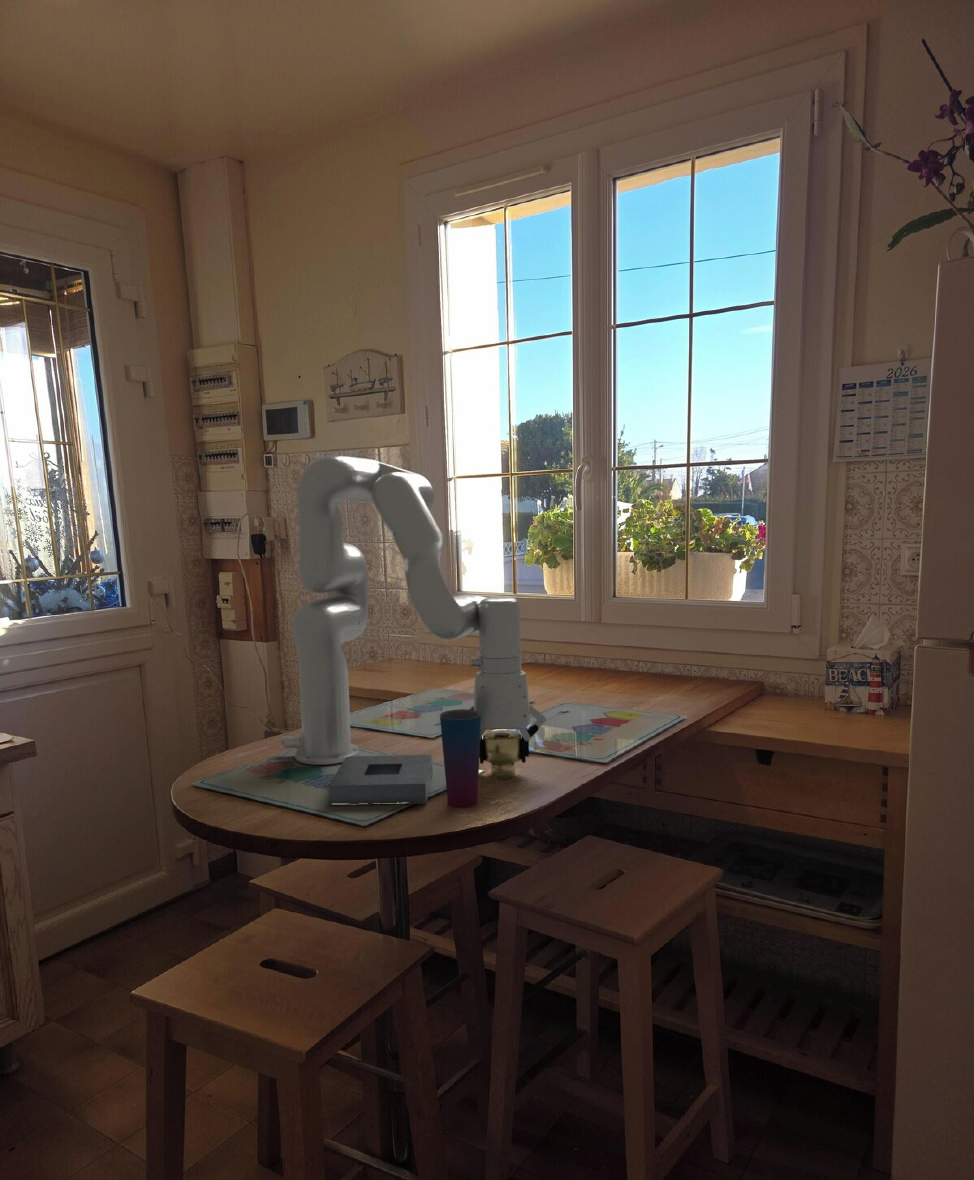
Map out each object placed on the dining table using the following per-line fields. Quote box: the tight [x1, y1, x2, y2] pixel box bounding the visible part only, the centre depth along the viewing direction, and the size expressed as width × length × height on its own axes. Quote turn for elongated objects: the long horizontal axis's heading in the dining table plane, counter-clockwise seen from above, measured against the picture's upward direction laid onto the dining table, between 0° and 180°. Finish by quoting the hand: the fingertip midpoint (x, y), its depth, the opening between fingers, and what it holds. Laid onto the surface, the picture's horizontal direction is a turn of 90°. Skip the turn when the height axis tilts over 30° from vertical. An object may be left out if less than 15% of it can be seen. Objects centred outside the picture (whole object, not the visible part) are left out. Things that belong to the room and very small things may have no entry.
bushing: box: [482, 729, 522, 780], centre depth 148 cm, size 7×7×8 cm
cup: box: [439, 708, 481, 809], centre depth 134 cm, size 7×7×15 cm
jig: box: [328, 754, 434, 805], centre depth 143 cm, size 16×16×4 cm
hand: (502, 760), depth 148 cm, fingers closed on bushing, 7 cm apart
